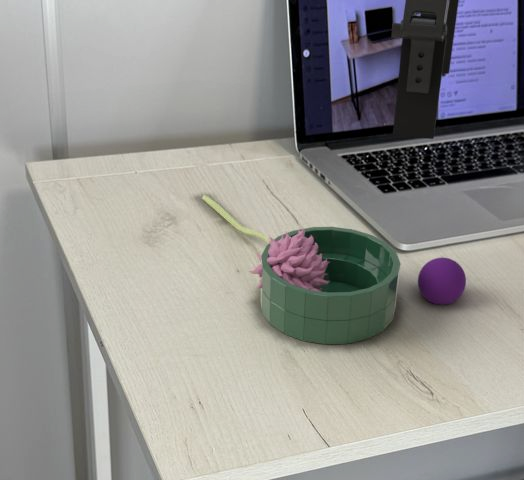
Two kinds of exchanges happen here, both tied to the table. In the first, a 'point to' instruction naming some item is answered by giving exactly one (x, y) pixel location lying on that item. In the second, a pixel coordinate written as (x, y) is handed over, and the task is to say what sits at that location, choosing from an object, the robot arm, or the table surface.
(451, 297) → the ball
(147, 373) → the table surface
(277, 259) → the artificial flower
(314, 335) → the bowl
